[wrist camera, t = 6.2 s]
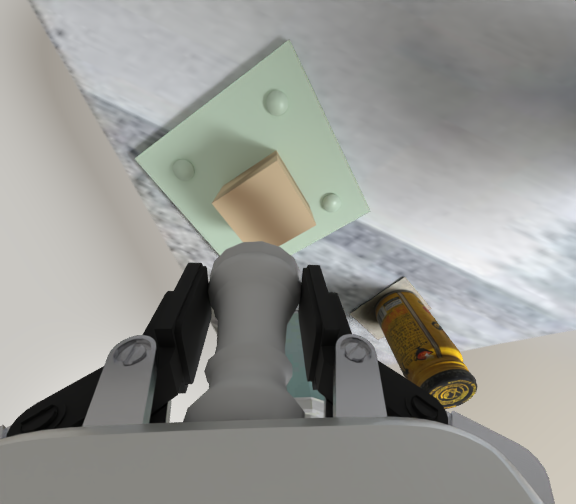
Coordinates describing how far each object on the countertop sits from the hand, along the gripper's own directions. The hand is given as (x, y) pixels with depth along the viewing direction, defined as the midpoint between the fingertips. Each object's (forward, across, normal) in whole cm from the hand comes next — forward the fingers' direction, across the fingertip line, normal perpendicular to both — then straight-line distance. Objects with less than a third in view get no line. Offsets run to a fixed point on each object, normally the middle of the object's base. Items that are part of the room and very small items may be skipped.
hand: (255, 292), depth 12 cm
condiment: (+16, -17, +15) cm, 28 cm away
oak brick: (+15, 0, 0) cm, 15 cm away
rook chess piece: (+2, 0, 0) cm, 2 cm away
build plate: (+16, 0, -1) cm, 16 cm away
